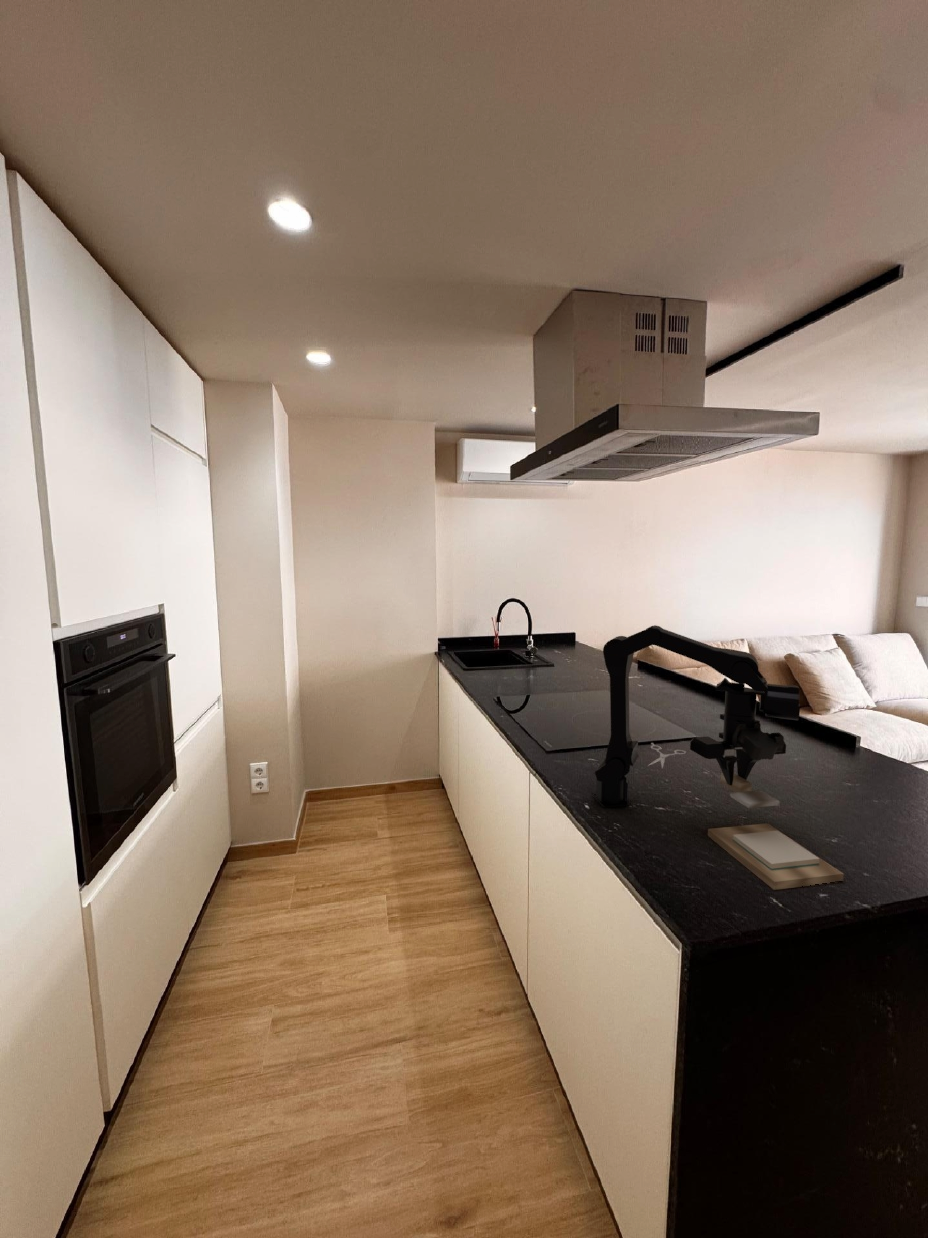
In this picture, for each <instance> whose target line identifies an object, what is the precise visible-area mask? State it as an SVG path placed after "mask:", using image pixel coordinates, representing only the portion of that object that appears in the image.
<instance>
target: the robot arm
mask: <svg viewBox="0 0 928 1238" xmlns="http://www.w3.org/2000/svg"><path fill="white" fill-rule="evenodd" d="M651 646H657V647H659V648H661V649H664V650H667V651H670V652H673V653H675V654H677V655H681V656H683V657H685V658H688V659H690V660H693V661H696V662H700V663H702V664H704V665H706V666H709V667H710V668H712V669H713V670H714V671H715V672H718V673H719V674H720V675H721V676H724V678H722V681H720V682H718V683H717V684H716V686H715V690H716V691H720V692H725V695H724V696H725V697H724V710H723V711H724V712H723V713H720V714H719V719H720V720H722V721H723V729H722V730H723V731H722V732H719V733H718V738H720V739H721V741H718V740H716V739H714V738H712V737H710V736H696V737H693V738H692V739H691V740H690V743H689V746H690V747H689V750H690V751H692V752H693V753H695V754H697V755H699V756H700V757H702V758H704V759H707V760H716V761H717V763H718V765H719V768H720V771H721V772H722V773H723V775H724V777H725V780H726V782H727V784H728V785H730V786H731V785H732V783H733V776H734V773H735V764H736V769H737V771H736V772H737V775H738V776H740V777H742V778H743V779H745V780H747V781H748V778H749V775H750V773H751V772H752V770H753V768H754V766H755V765H756V763H757V762H759V761H762V760H773V759H774V757H775V755H785V754H786V753H787V744H786V742H785V738H784V735H783V734H781V732H770V733H769V732H764V731H762V729H761V722H760V720H758V719H756V712H757V699H758V697H757V696H760V697H759V711H760V712H763V714H764V715H765V717H766V718H767V717H768V718H777V719H784V720H791V721H792V720H793V721H799V718H800V712H801V704H800V688H799V686H798V685H796V684H795V685H793V684H789V685H785V684H784V685H783V684H774V683H773V684H772V683H768V681H767V679H766V677H764V676H763V674H762V673H761V671H760V670H759V663H758V660H757V659H756V657H755V656H754V655H753V654H752V653H749V652H747V651H742V650H737V649H732V648H724V647H723V648H722V647H716V646H712V645H710V644H707V643H704V642H701V641H699V640H696V639H692V638H690V637H687V636H685V635H682V634H679V633H676V632H673V631H670V630H669V629H668V630H667V629H665V628H663V627H661V626H659V625H657V624H655V625H651V626H649V627H648V628H646V629H644V630H641V631H639V632H636V633H634V634H631V635H630V636H629V635H628V636H626V635H619V636H615V637H614V638H611V639H610V640H608V641H607V642H606V643H605V644H604V646H603V649H602V653H603V659H604V665H605V668H606V670H607V673H608V676H609V695H610V696H609V699H610V700H609V701H610V703H609V704H610V707H609V708H610V712H609V713H610V737H609V742H608V744H607V749H606V754H605V759H603V761H602V762H601V764H600V765H599V766H598V767H597V769H596V770H595V771H594V774H595V779H596V780H595V782H596V783H595V793H592V797H593V798H594V799H595V800H596V801H597V802H598V803H599V805H601V806H602V807H603V808H606V809H607V808H618V807H629V806H630V802H628V796H629V795H628V794H629V793H628V792H629V783H628V782H627V777H626V775H628V774H629V773H630V771H631V770H632V767H633V766H634V765H635V764H636V762H637V760H638V758H639V754H638V745H639V741H638V740H632V737H631V732H630V684H629V683H630V680H629V676H630V673H631V668H632V664H633V660H634V654H635V653H638V652H639V651H642V650H644V649H645V648H646V649H647V648H648V647H651ZM728 679H729V680H731V681H733V682H731V681H729V680H728ZM745 685H747V686H748V687H746V686H745Z"/></svg>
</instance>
